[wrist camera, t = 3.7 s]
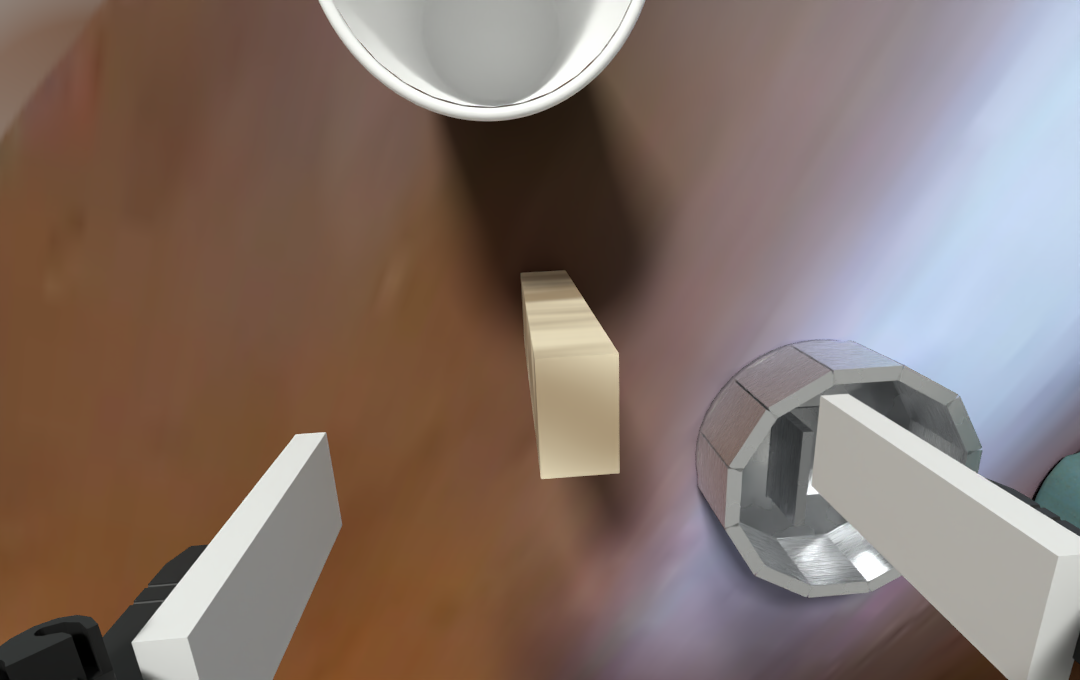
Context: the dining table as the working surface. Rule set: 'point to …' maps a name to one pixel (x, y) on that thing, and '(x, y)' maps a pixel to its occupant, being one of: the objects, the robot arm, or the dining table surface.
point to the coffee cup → (484, 49)
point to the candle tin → (811, 459)
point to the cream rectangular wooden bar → (569, 379)
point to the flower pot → (1063, 490)
